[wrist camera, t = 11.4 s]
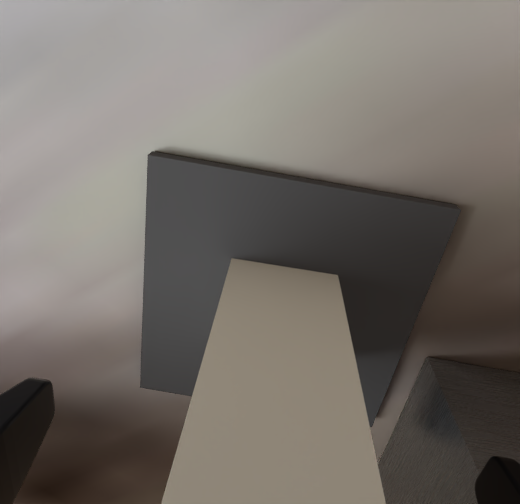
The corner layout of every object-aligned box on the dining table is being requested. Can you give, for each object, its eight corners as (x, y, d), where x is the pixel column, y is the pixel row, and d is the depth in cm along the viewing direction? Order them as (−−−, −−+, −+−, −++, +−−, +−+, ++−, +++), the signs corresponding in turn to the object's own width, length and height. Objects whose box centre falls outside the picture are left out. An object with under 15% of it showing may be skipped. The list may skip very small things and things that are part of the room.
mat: (144, 379, 14) (140, 387, 14) (152, 151, 10) (147, 154, 10) (369, 417, 14) (371, 427, 14) (455, 204, 11) (460, 209, 10)
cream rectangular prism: (221, 342, 13) (128, 723, 5) (231, 258, 11) (127, 619, 4) (316, 357, 13) (348, 759, 5) (337, 275, 11) (419, 665, 4)
